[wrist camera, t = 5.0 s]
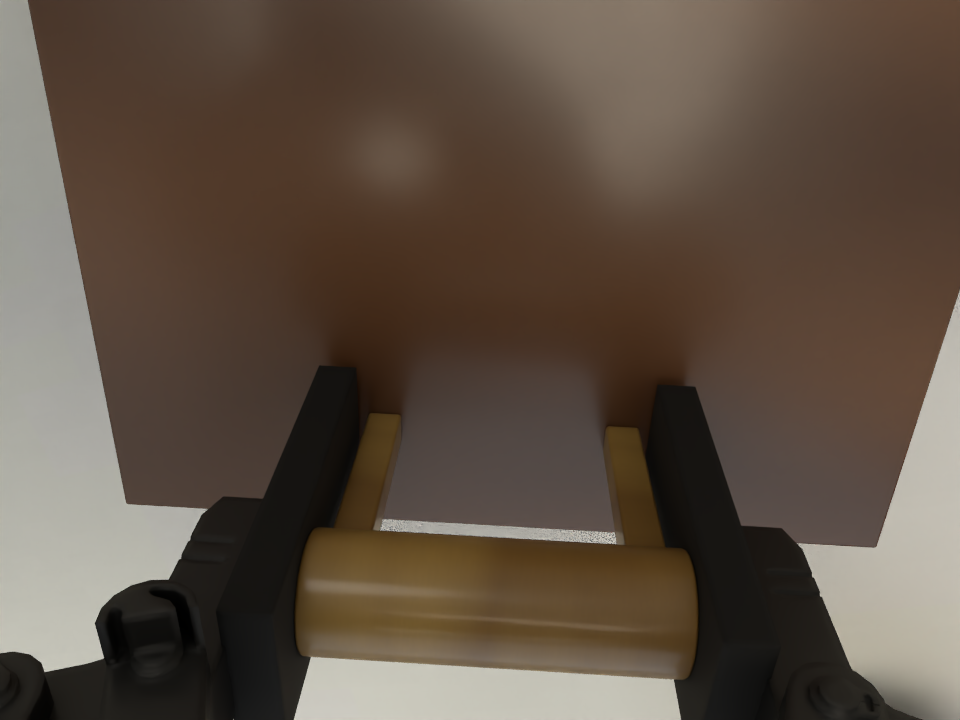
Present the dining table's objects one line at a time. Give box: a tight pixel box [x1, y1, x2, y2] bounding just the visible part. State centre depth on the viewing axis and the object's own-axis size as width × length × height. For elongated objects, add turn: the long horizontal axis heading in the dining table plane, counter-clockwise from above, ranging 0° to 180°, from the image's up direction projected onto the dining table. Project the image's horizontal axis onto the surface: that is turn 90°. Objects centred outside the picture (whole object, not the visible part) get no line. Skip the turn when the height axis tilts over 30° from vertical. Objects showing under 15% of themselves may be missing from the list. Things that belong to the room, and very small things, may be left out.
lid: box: [28, 0, 960, 680], centre depth 12 cm, size 20×17×7 cm
